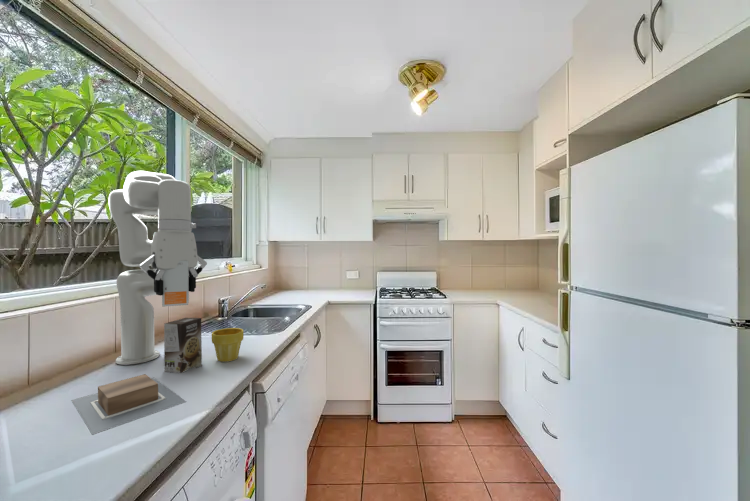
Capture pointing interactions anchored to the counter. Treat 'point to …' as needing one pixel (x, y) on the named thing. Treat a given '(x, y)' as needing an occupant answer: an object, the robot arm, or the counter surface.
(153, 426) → the counter surface
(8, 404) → the counter surface
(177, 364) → the coffee box
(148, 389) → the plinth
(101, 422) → the grey rectangular mat
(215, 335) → the plant pot
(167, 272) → the skincare box
